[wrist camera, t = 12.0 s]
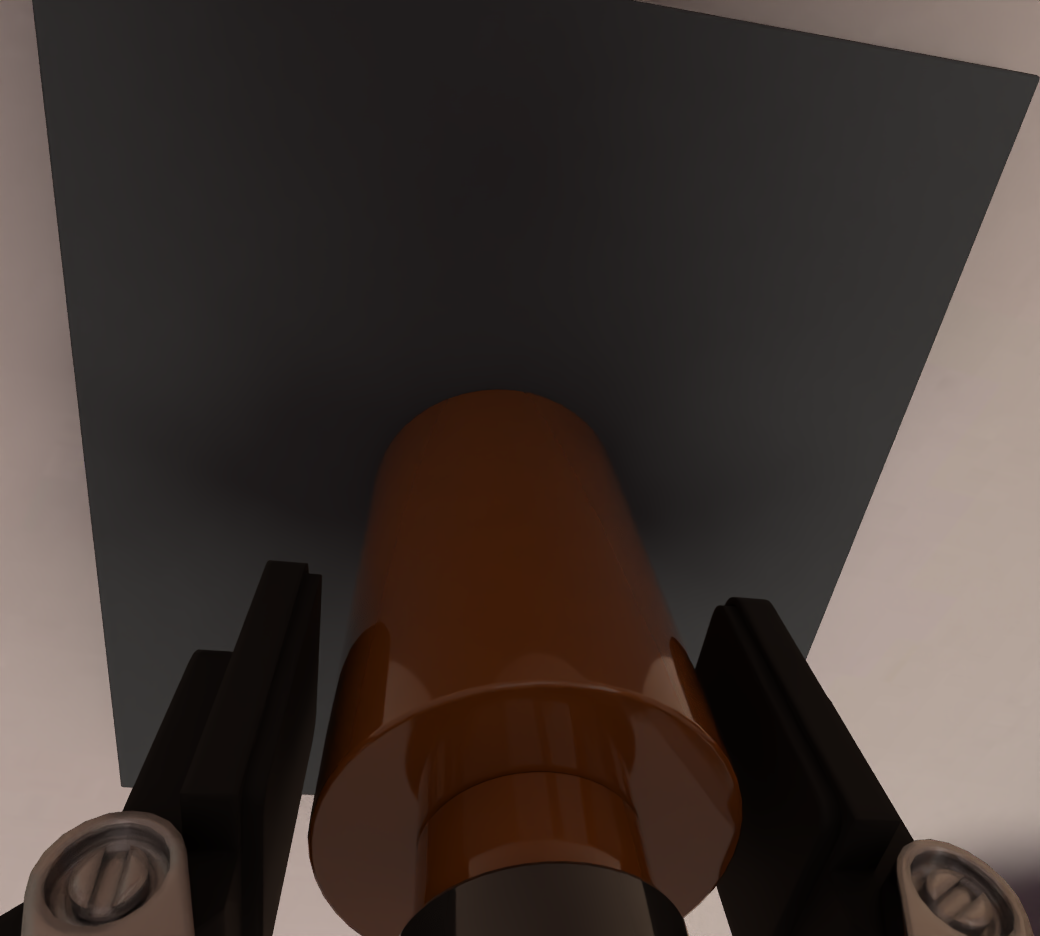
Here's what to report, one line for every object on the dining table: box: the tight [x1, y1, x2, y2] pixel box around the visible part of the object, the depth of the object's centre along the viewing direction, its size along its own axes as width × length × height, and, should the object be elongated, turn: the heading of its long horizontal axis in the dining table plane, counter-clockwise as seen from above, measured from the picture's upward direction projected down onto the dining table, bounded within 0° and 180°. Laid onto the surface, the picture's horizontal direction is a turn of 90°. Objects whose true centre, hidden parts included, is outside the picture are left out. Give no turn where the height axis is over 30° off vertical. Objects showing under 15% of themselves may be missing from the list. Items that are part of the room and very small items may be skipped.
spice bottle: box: [308, 389, 743, 936], centre depth 11 cm, size 5×5×10 cm
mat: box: [32, 0, 1040, 795], centre depth 16 cm, size 18×16×1 cm
